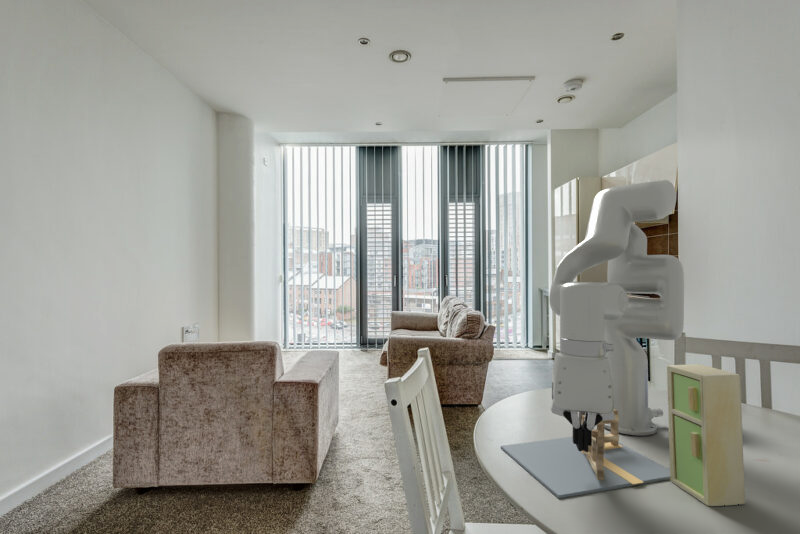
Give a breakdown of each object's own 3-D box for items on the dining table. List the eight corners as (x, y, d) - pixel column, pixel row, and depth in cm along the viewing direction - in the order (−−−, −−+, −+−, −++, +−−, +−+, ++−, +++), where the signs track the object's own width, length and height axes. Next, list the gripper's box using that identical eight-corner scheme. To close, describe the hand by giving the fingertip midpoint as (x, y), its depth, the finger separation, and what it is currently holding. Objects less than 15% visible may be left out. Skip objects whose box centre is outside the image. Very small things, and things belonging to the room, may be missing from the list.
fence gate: (581, 449, 79) (581, 414, 79) (587, 450, 78) (587, 415, 79) (597, 479, 67) (596, 438, 67) (604, 480, 67) (603, 439, 67)
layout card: (601, 435, 88) (601, 432, 88) (682, 478, 69) (682, 475, 69) (500, 448, 82) (500, 445, 82) (560, 500, 63) (560, 496, 63)
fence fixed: (614, 445, 83) (613, 405, 83) (620, 448, 81) (619, 407, 81) (577, 450, 80) (577, 408, 81) (582, 454, 79) (582, 411, 79)
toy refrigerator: (664, 480, 69) (662, 364, 69) (702, 479, 69) (700, 363, 70) (703, 507, 61) (701, 376, 61) (745, 505, 61) (743, 374, 62)
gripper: (620, 348, 72) (621, 446, 71) (537, 343, 76) (537, 435, 75) (633, 354, 65) (634, 464, 64) (541, 349, 69) (540, 451, 68)
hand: (582, 448), depth 70 cm, fingers closed
